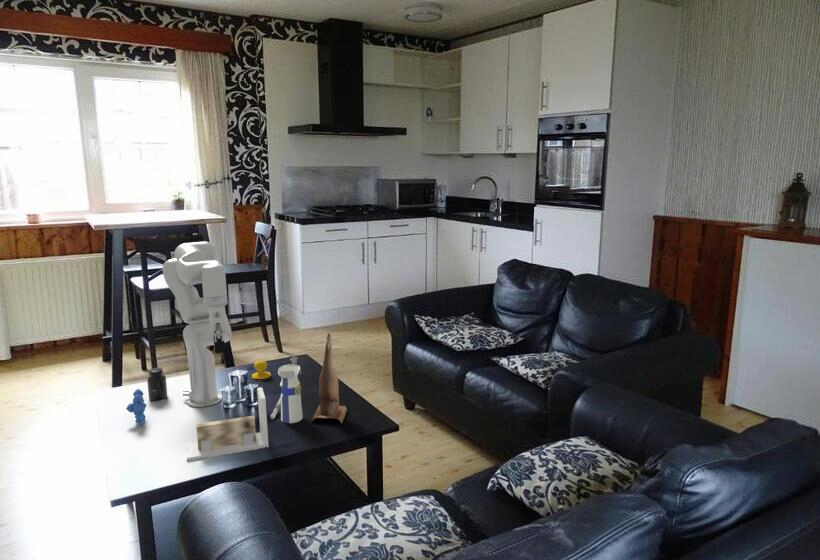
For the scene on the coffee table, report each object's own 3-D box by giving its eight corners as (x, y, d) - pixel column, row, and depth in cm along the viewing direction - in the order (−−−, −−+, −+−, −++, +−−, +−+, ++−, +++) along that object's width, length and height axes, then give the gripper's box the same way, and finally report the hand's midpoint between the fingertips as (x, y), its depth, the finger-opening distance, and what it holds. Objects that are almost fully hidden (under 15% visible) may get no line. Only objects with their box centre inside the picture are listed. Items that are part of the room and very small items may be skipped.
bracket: (296, 390, 234) (291, 372, 228) (281, 433, 217) (275, 416, 211) (288, 389, 234) (283, 372, 228) (273, 433, 218) (267, 416, 212)
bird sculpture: (311, 425, 208) (307, 339, 201) (317, 410, 219) (313, 328, 212) (342, 425, 208) (339, 339, 200) (347, 410, 219) (344, 328, 212)
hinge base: (187, 461, 183) (182, 410, 180) (187, 446, 192) (182, 398, 189) (268, 447, 191) (265, 398, 188) (265, 434, 201) (262, 387, 197)
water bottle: (308, 415, 215) (305, 350, 210) (295, 425, 207) (291, 357, 202) (290, 411, 218) (286, 347, 213) (276, 421, 211) (271, 354, 206)
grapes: (128, 417, 215) (124, 386, 213) (148, 414, 218) (145, 383, 215) (127, 430, 205) (123, 398, 202) (148, 427, 207) (145, 395, 205)
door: (198, 451, 187) (196, 428, 185) (198, 447, 190) (196, 424, 188) (256, 442, 193) (254, 419, 191) (255, 437, 196) (253, 415, 194)
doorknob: (266, 380, 250) (248, 379, 251) (273, 374, 258) (256, 373, 259) (265, 364, 248) (247, 363, 250) (272, 358, 256) (255, 357, 258)
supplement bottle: (149, 402, 228) (146, 373, 226) (148, 396, 234) (145, 368, 232) (168, 399, 231) (165, 370, 229) (166, 393, 237) (164, 365, 235)
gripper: (228, 305, 193) (232, 354, 196) (225, 294, 209) (229, 340, 212) (204, 307, 191) (208, 357, 194) (203, 295, 206) (207, 342, 210)
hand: (219, 348), depth 203 cm, fingers open, 9 cm apart
